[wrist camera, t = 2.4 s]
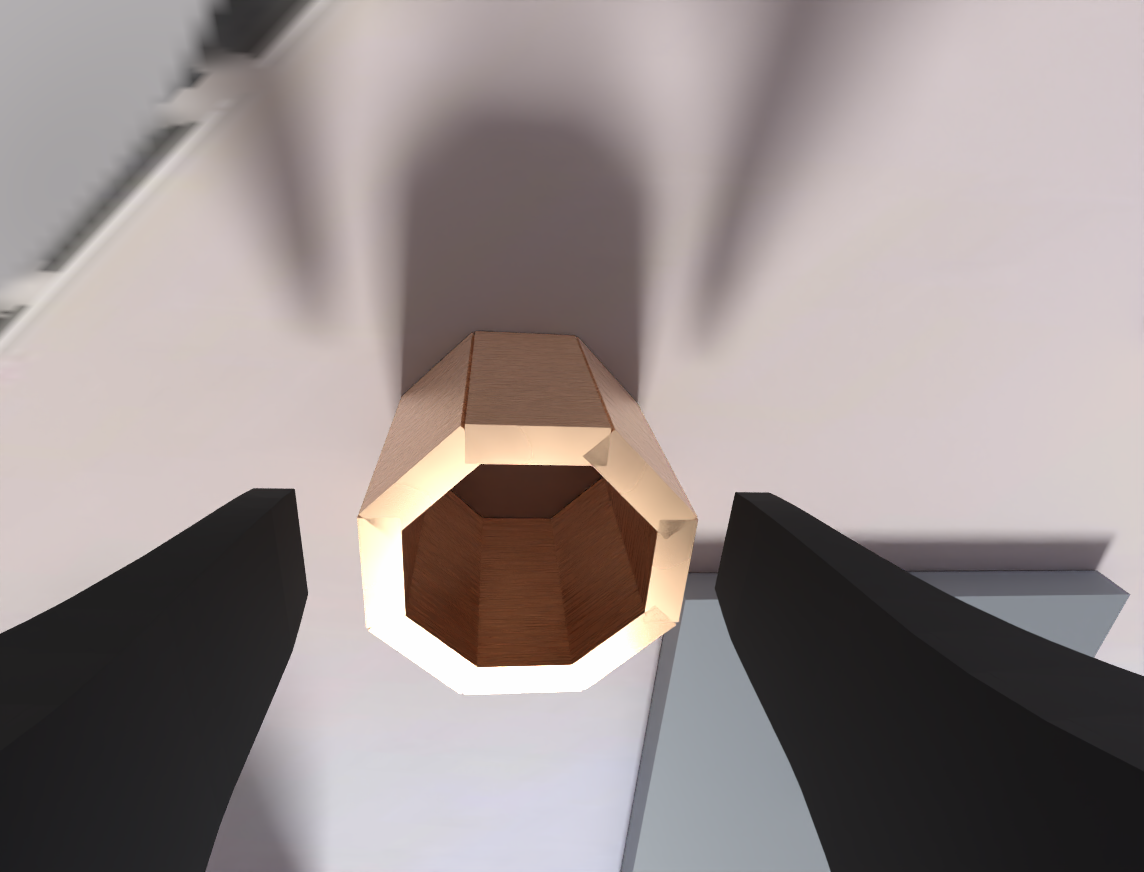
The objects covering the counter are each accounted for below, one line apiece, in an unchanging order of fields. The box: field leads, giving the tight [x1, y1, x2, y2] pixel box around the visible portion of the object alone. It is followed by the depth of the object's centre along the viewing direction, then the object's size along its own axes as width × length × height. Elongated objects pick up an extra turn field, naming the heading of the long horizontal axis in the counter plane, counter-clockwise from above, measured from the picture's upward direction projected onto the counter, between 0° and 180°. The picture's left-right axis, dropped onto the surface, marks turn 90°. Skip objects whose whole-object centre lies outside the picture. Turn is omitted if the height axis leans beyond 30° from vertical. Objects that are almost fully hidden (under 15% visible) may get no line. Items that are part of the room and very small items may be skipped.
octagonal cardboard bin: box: [357, 331, 698, 695], centre depth 12 cm, size 5×5×4 cm
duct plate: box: [621, 571, 1130, 872], centre depth 18 cm, size 13×12×4 cm
